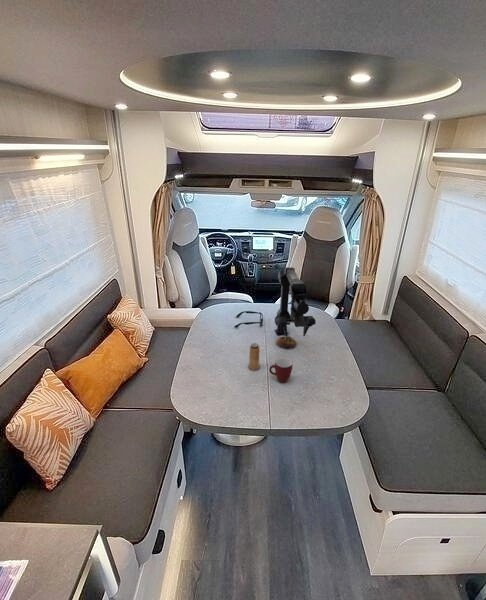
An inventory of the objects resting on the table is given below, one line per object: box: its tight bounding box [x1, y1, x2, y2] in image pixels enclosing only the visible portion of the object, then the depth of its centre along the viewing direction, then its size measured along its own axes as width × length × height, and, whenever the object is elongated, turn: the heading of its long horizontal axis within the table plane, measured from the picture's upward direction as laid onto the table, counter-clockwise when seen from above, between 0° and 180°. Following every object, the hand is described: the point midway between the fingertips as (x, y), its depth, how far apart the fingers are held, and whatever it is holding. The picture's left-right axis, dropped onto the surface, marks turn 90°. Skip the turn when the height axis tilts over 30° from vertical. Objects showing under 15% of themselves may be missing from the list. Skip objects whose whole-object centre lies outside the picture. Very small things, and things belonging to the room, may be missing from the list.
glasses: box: [234, 310, 264, 329], centre depth 200 cm, size 17×18×5 cm
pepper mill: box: [248, 342, 261, 371], centre depth 154 cm, size 5×5×13 cm
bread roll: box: [276, 335, 297, 349], centre depth 178 cm, size 11×11×5 cm
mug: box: [268, 357, 293, 383], centre depth 146 cm, size 10×8×10 cm
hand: (295, 336), depth 158 cm, fingers open, 9 cm apart
